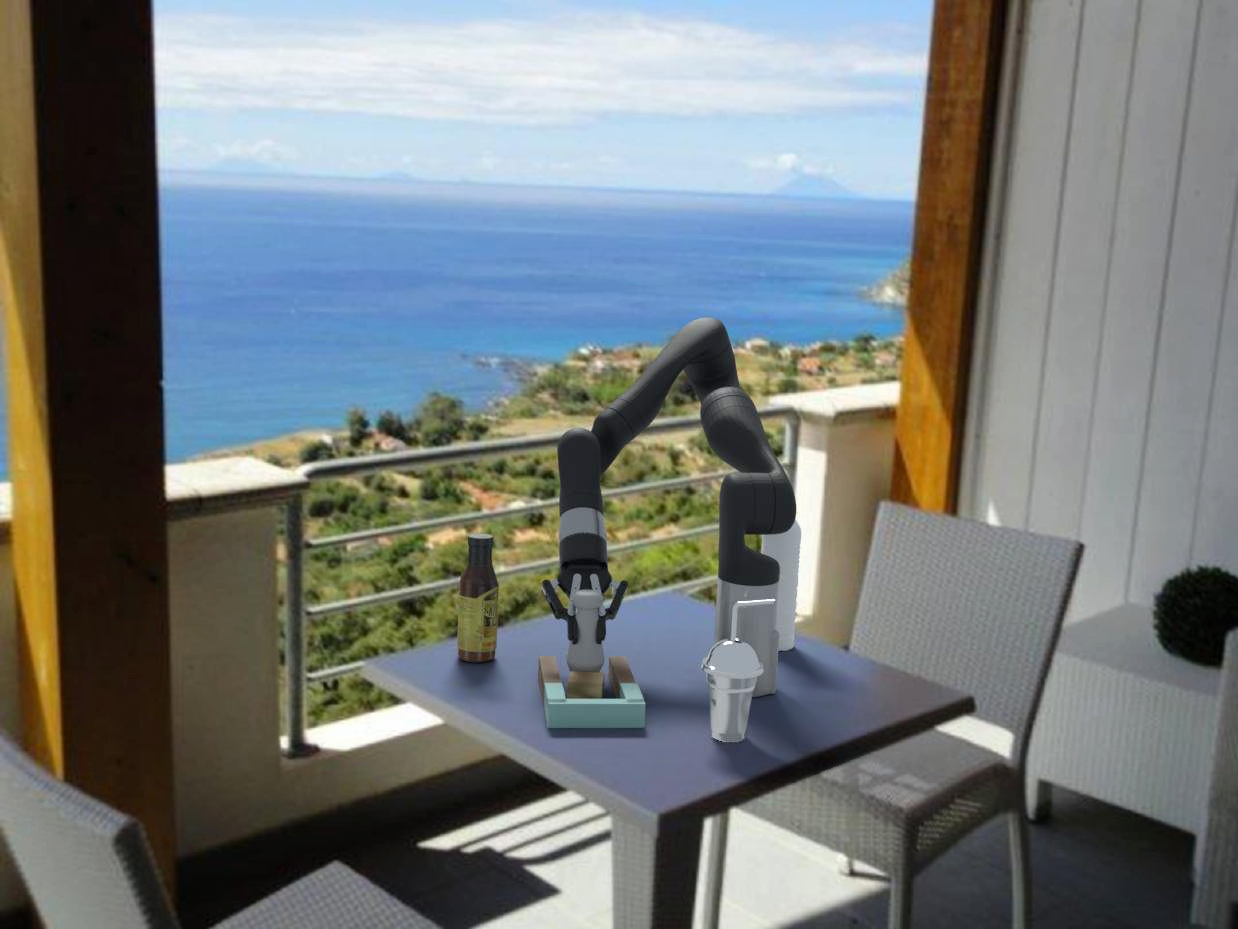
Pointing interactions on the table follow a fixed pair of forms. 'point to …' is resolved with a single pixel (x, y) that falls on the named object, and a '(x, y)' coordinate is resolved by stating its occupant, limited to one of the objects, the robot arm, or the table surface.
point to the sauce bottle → (478, 603)
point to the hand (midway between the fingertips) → (586, 641)
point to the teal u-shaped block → (594, 709)
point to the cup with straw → (732, 681)
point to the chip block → (585, 685)
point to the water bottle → (785, 580)
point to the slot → (617, 673)
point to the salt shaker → (586, 634)
